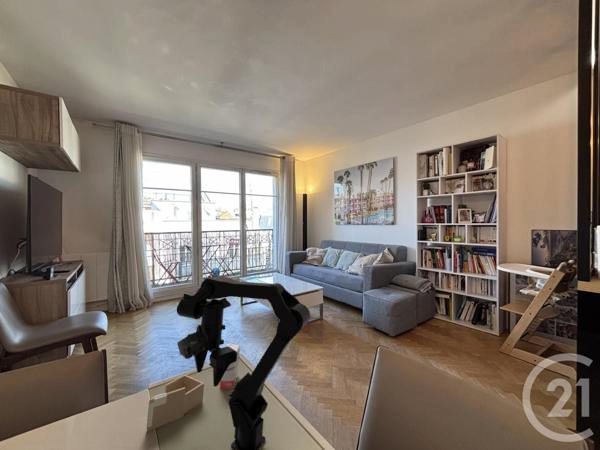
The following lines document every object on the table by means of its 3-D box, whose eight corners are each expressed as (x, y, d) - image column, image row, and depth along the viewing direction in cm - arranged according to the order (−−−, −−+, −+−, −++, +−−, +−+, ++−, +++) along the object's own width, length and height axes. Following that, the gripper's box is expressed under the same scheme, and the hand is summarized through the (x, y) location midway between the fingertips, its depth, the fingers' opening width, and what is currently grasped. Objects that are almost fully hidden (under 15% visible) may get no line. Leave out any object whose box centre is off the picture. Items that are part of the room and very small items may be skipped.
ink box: (233, 389, 86) (235, 354, 87) (218, 388, 86) (221, 353, 87) (238, 375, 95) (240, 343, 96) (225, 375, 95) (227, 343, 95)
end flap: (181, 414, 72) (184, 386, 73) (183, 417, 71) (185, 388, 72) (146, 429, 66) (149, 398, 67) (147, 432, 65) (150, 401, 66)
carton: (202, 402, 78) (204, 383, 79) (184, 415, 72) (185, 394, 73) (183, 393, 82) (184, 374, 83) (164, 404, 76) (165, 384, 77)
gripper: (168, 318, 70) (163, 375, 70) (200, 339, 58) (194, 408, 57) (205, 311, 79) (201, 362, 78) (240, 328, 66) (235, 389, 65)
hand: (207, 378), depth 69 cm, fingers open, 9 cm apart
